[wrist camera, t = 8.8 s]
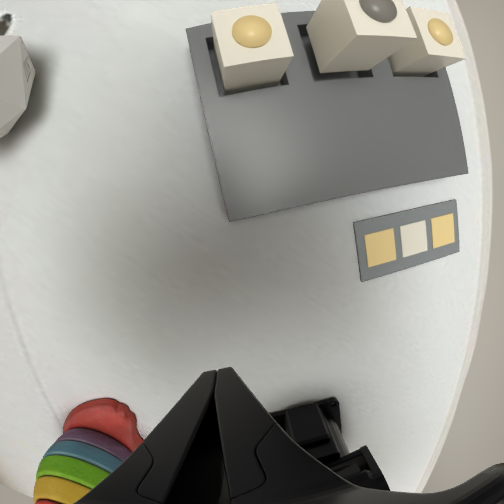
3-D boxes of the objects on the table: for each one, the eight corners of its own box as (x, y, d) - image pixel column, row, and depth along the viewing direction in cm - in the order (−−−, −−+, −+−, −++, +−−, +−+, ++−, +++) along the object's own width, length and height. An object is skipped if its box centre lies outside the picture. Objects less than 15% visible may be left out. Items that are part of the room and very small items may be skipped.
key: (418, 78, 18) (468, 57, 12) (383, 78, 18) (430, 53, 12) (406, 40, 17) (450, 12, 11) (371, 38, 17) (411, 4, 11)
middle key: (368, 70, 16) (419, 36, 10) (320, 73, 16) (358, 33, 10) (353, 26, 15) (395, -18, 9) (305, 27, 15) (336, -24, 9)
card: (457, 251, 22) (460, 251, 22) (360, 281, 22) (362, 282, 22) (454, 199, 21) (456, 199, 21) (353, 222, 21) (354, 223, 21)
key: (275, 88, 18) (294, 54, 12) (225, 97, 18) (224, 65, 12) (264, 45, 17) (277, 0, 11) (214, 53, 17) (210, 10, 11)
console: (444, 172, 21) (468, 173, 18) (229, 215, 20) (229, 222, 17) (408, 30, 18) (427, 17, 15) (190, 47, 18) (185, 28, 15)
